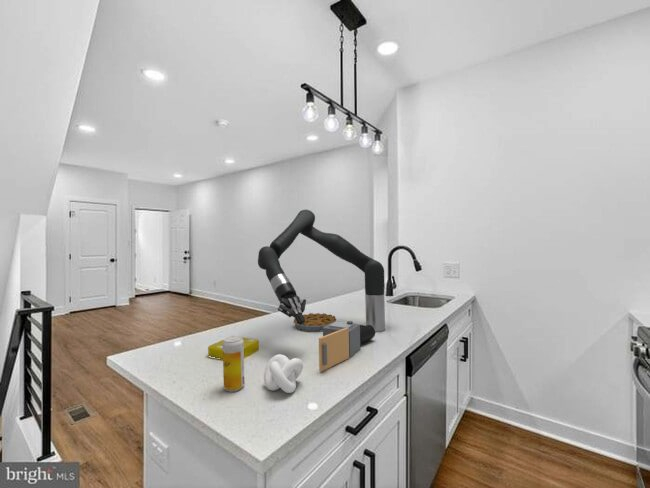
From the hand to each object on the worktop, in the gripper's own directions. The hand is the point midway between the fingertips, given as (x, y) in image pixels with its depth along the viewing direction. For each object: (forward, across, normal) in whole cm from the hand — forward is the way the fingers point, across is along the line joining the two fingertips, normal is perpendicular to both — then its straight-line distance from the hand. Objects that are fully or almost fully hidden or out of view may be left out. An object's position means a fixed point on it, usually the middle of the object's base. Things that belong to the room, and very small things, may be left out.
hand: (302, 323), depth 114 cm
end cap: (+13, -28, -7) cm, 32 cm away
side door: (+18, -4, 0) cm, 19 cm away
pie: (-11, -30, -31) cm, 45 cm away
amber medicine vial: (+11, +29, -7) cm, 32 cm away
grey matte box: (+13, -15, -6) cm, 21 cm away
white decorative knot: (+19, +19, +1) cm, 27 cm away
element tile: (-8, +17, -27) cm, 32 cm away
